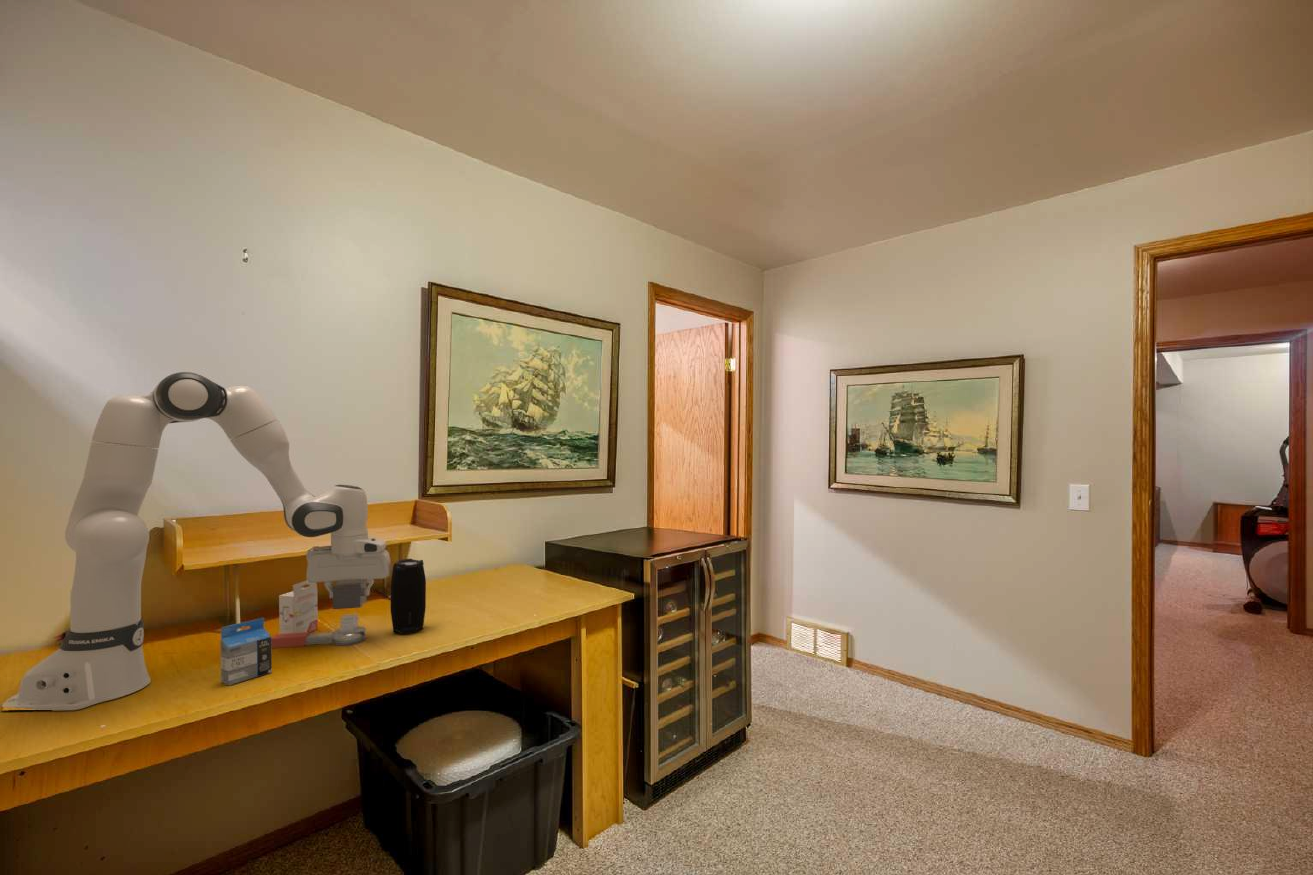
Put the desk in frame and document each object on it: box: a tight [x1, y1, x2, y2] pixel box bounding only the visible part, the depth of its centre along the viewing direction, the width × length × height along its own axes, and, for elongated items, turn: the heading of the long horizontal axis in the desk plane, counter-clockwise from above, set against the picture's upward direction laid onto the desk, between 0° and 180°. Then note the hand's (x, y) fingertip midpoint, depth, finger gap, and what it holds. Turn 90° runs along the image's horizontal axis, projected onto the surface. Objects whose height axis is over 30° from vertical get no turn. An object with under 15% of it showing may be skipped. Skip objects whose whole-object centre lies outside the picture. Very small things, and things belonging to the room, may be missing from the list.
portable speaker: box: [390, 558, 427, 636], centre depth 165 cm, size 9×9×20 cm
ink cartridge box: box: [278, 579, 319, 634], centre depth 162 cm, size 9×5×15 cm, turn 168°
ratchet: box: [271, 613, 367, 649], centre depth 155 cm, size 22×8×6 cm, turn 104°
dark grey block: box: [332, 579, 367, 610], centre depth 157 cm, size 7×7×6 cm
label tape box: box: [220, 617, 273, 686], centre depth 132 cm, size 9×4×12 cm, turn 147°
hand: (349, 596), depth 157 cm, fingers closed on dark grey block, 7 cm apart
